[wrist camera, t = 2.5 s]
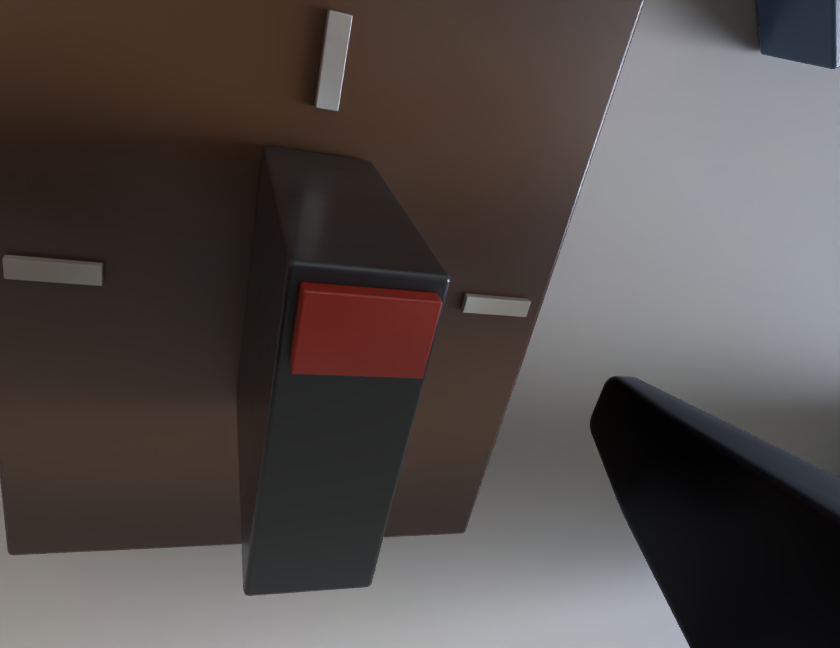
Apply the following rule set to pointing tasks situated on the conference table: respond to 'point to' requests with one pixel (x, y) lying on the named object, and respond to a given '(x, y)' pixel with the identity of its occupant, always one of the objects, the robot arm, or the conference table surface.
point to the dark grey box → (328, 369)
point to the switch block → (801, 30)
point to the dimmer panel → (235, 221)
